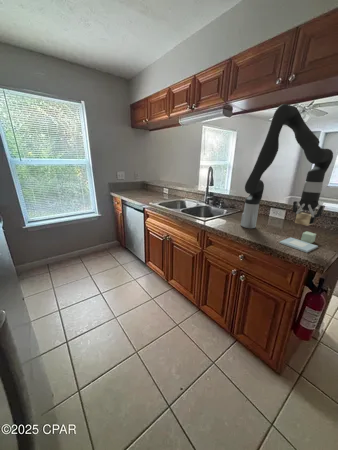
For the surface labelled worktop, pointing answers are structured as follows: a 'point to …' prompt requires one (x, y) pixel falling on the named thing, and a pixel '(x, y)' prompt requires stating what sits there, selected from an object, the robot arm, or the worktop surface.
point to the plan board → (298, 244)
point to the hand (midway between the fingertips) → (303, 222)
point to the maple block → (303, 219)
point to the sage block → (308, 237)
